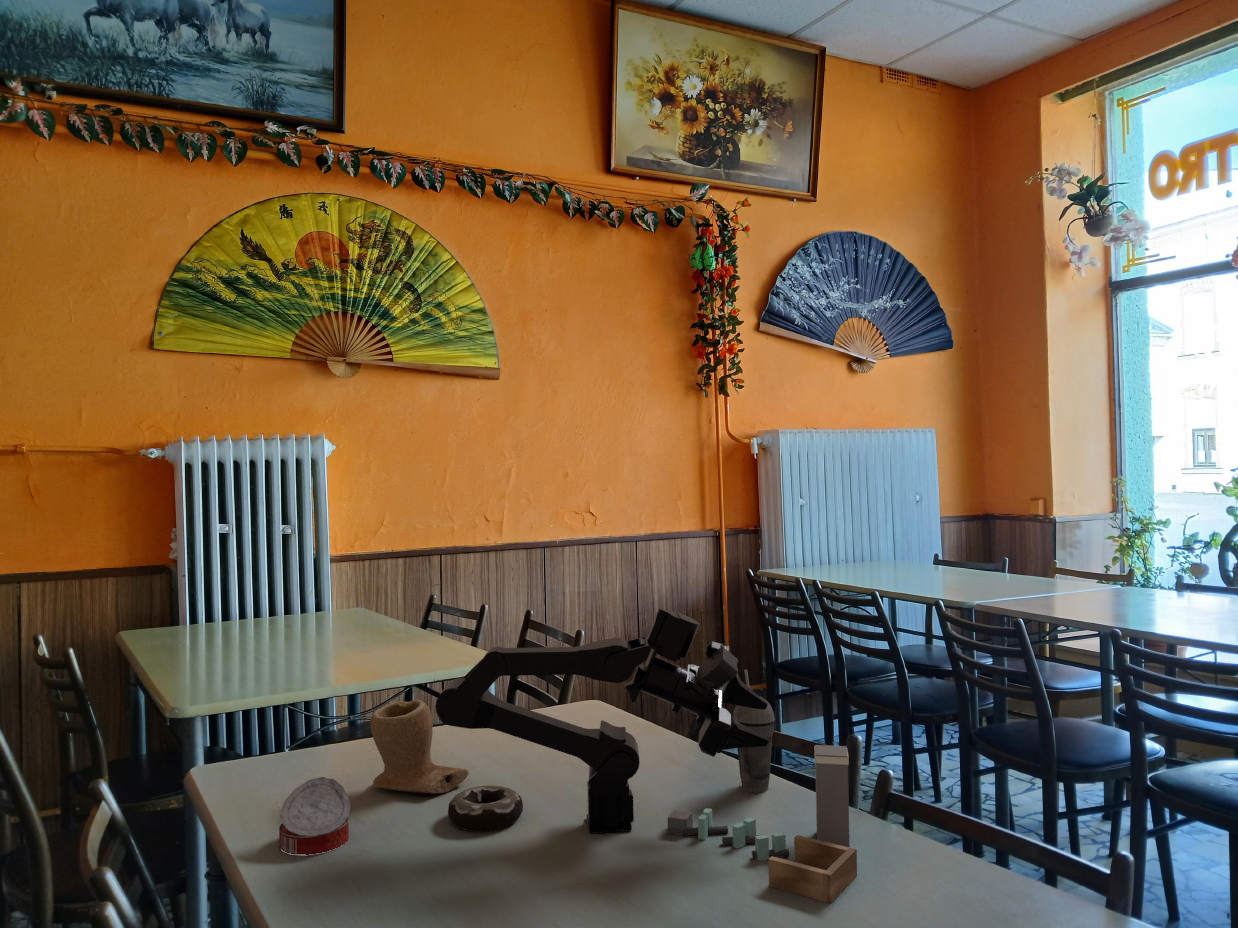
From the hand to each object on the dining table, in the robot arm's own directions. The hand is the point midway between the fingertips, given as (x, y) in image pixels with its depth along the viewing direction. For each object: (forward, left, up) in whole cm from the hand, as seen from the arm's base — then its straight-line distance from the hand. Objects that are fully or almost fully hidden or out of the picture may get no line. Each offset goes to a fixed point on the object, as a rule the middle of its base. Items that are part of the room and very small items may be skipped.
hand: (767, 724), depth 137 cm
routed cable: (-7, -8, -15) cm, 18 cm away
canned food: (-69, +2, -15) cm, 70 cm away
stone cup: (-57, +22, -15) cm, 63 cm away
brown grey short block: (-14, -2, -15) cm, 21 cm away
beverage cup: (+1, +14, -15) cm, 21 cm away
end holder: (0, -20, -15) cm, 25 cm away
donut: (-44, +7, -15) cm, 47 cm away
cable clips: (-6, -7, -15) cm, 18 cm away
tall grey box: (+7, -8, -15) cm, 18 cm away
